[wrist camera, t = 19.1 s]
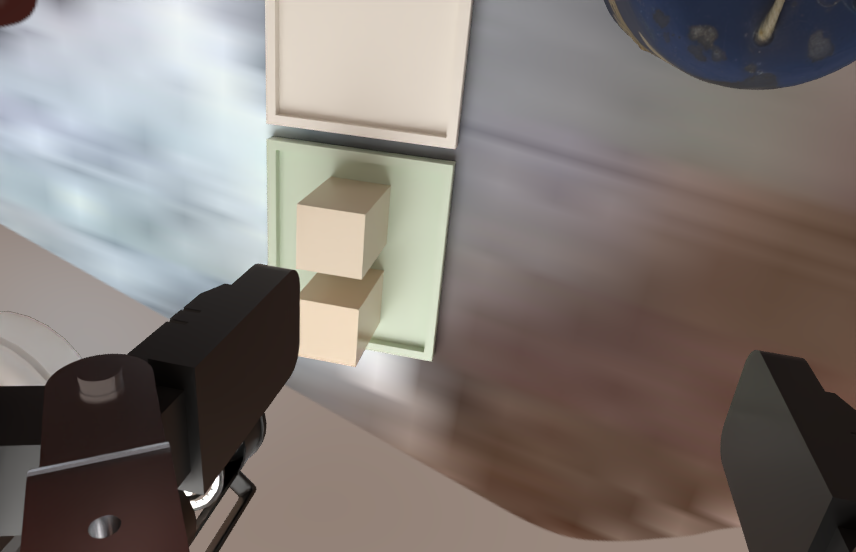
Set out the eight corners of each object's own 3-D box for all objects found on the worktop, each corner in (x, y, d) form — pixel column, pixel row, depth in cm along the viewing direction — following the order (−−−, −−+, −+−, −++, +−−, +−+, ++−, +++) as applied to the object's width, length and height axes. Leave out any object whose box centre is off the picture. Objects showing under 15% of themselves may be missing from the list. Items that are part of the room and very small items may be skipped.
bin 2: (455, 161, 41) (453, 165, 40) (434, 354, 47) (431, 361, 46) (273, 136, 42) (266, 139, 42) (274, 325, 48) (268, 331, 47)
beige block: (391, 185, 42) (365, 214, 36) (386, 243, 44) (361, 279, 38) (330, 176, 42) (296, 204, 37) (328, 234, 44) (295, 268, 39)
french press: (129, 394, 54) (-144, 649, 33) (199, 335, 50) (-59, 581, 29) (231, 491, 56) (34, 788, 35) (304, 442, 52) (134, 741, 31)
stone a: (383, 270, 44) (358, 309, 39) (379, 322, 46) (355, 366, 41) (327, 261, 45) (294, 298, 39) (325, 312, 47) (293, 355, 41)
